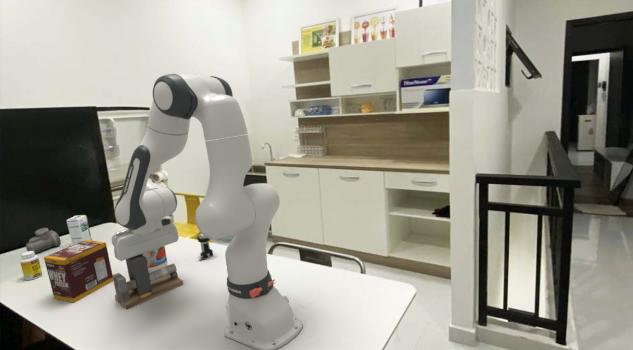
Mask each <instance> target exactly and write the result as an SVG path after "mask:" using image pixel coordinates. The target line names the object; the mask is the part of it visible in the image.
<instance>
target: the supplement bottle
mask: <svg viewBox="0 0 633 350" xmlns="http://www.w3.org/2000/svg"><path fill="white" fill-rule="evenodd" d="M19 263H20V267H21V271H22V274H23V277H24V280H25V281H31V280H35V279H37V278H40V277H41V276H42V275H43V271H42V267H41V263H40V258H39V255H36V254H35V253H34V251H26V252H22V253H21V259H20V260H19Z"/></svg>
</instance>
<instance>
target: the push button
mask: <svg viewBox="0 0 633 350" xmlns="http://www.w3.org/2000/svg"><path fill="white" fill-rule="evenodd" d="M196 238H197V242H198V243H200V247H201V252H200V254H199V255H200V256H198V260H199V261H201V260H206V259H208V258H210V257H213V256H214V253H213V252H214V251H213V249H211V247H210V241H211V239H208V238H207V237H205V236H204V235H203V234H202V233H200V234H199V235H198V236H197V237H196Z"/></svg>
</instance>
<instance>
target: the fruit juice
mask: <svg viewBox="0 0 633 350" xmlns="http://www.w3.org/2000/svg"><path fill="white" fill-rule="evenodd" d="M152 253H153V251H149V252H147V255H146V256H147V257H150V256H152ZM147 266H148V271H149V273H151V272H153V271H156V270H158V269H161V268H163V267H166V266H168V257H167V252H166V246H163V247H160V248H158V253H157V255H156V261H155V262H152V263H150V264H147Z"/></svg>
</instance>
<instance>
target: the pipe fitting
mask: <svg viewBox="0 0 633 350" xmlns="http://www.w3.org/2000/svg"><path fill="white" fill-rule="evenodd" d="M34 234H35V235H36V236H34V237H32V238H30V239H29V240H28V242H27V243H26V244H25V248H26V252H28V251H34V253H35V255H36V254H39V253H40V252H42V251H45V250H47V249H49V248H50V247H54V248H56V247H59V246H61V243H62V240H61V238H60V236H59V234H58V233H57V232H56V231H54V230H49V228H48V227H42V228H39V229H37V230H36V231H34Z"/></svg>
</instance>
